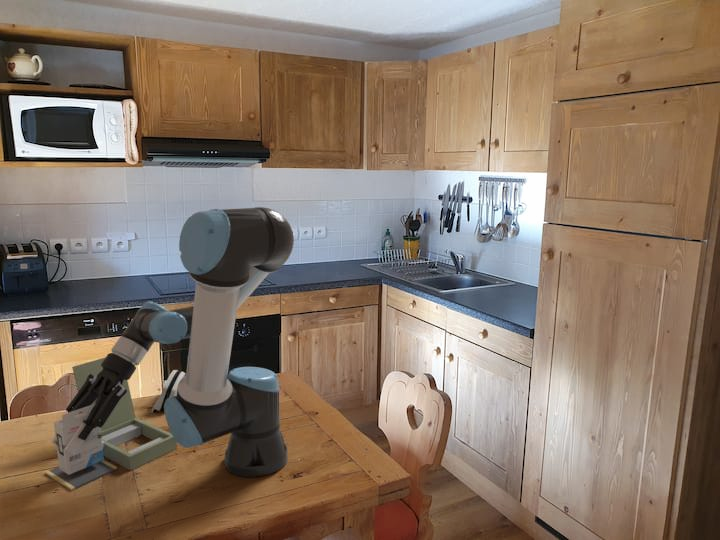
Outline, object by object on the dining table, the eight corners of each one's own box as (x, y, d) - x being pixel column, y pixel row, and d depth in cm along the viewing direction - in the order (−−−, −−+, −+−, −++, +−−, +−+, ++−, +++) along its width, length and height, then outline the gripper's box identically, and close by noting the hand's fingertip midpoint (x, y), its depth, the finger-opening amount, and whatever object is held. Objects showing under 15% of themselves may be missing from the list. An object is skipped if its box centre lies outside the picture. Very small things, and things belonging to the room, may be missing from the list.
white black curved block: (164, 390, 178) (173, 362, 177) (178, 395, 179) (188, 366, 177) (150, 413, 162) (160, 382, 160) (166, 418, 162) (176, 387, 161)
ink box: (94, 453, 135) (89, 397, 132) (104, 460, 132) (99, 402, 129) (57, 468, 129) (51, 409, 126) (67, 475, 126) (61, 415, 123)
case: (177, 448, 142) (172, 370, 138) (127, 472, 130) (120, 388, 127) (125, 424, 155) (119, 352, 151) (76, 444, 144) (68, 367, 140)
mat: (117, 469, 132) (117, 467, 132) (71, 490, 123) (71, 488, 123) (90, 454, 139) (90, 452, 138) (45, 473, 130) (44, 471, 130)
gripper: (156, 374, 134) (96, 466, 124) (113, 359, 144) (55, 442, 134) (134, 359, 129) (70, 454, 119) (92, 345, 139) (30, 430, 129)
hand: (63, 447), depth 126 cm, fingers closed on ink box, 5 cm apart
